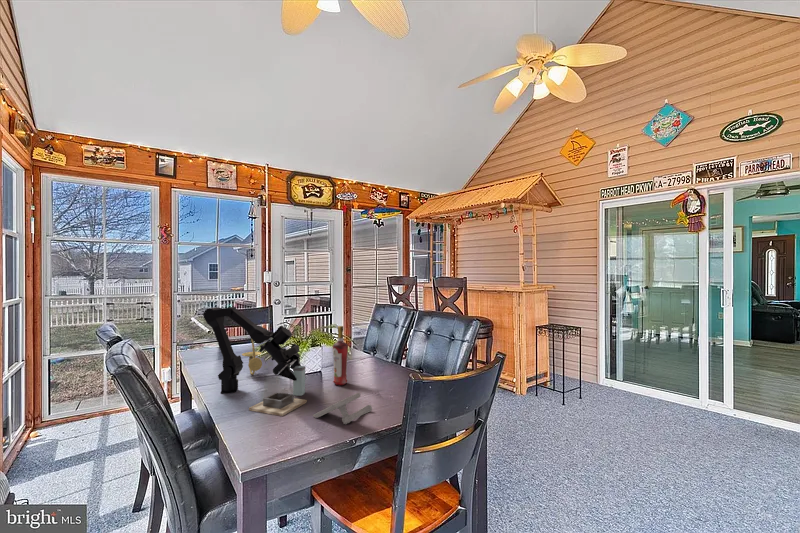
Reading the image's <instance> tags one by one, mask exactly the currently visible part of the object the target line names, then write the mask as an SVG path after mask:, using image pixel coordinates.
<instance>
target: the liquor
mask: <svg viewBox="0 0 800 533" xmlns="http://www.w3.org/2000/svg"><path fill="white" fill-rule="evenodd" d="M343 332H344V325H338V326H337V342H334V344H333V345H332V356H333V381H332V382H333V384H334V385H335V386H345V385H346V384H347V383H348V380H347V376H348V375H347V372H348V353H349V352H348V351H349V344H348V343H347V342H345V341H344V334H343Z"/></svg>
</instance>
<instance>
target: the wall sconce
mask: <svg viewBox="0 0 800 533" xmlns="http://www.w3.org/2000/svg"><path fill="white" fill-rule="evenodd" d="M250 339H251V338H250ZM251 346H252V351H248V352H247V351H246V352H243V353H241V355H242V356H243V357H248V364H247V365H248V369H249V374H250V375H252V376H253V375H255V373H256V372H257V371H259V370H260V369H261V368H262V366H263V361H262V360H261V358H259V357H257V356H260V355H261V354H262V352H260V351H256V350H255V348H256V347H255V342H254V341H253V340H252V339H251Z"/></svg>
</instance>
